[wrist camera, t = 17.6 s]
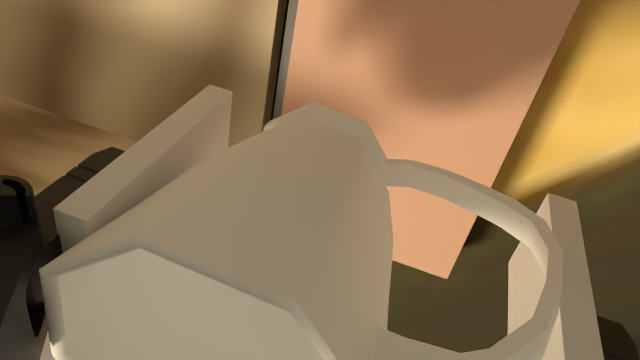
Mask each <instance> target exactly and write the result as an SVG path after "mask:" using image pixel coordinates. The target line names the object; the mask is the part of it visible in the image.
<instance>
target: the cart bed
mask: <svg viewBox="0 0 640 360" xmlns="http://www.w3.org/2000/svg"><path fill="white" fill-rule="evenodd" d="M286 4H287V0H0V175H10V176H16V177H20V178H22V179H24V180H26V181H28V182H29V184H30V185H31V186H32V188H33V192H34V196H36V195H37V194H39V193H40V192H41V191H43V190H44V189H45V188H47V187H48V186H49V185H51V184H52V183H53V182H55V181H56V180H58V179H59V178H60V177H62V176H63V175H64V176H65V175H66V173H67V172H68V171H70V170H71V169H72V168H74V167H77V166H78V164H79V163H81V162H82V161H83V160H85V159H86V158H87V157H89V156H90V155H92V154H93V153H96V152H99V151H101V150H104V149H107V148H110V147H115V148H118V149H121V150H123V151H126V150H128V149H129V148H130V147H131V146H133V145H134V144H135V143H137V142H138V141H139V140H140V139H142V138H143V137H144V136H145V135H147V134H148V133H149V132H150V131H152V130H153V129H154V128H155V127H157V126H158V125H159V124H161V123H162V122H163V121H164V120H166V119H167V118H168V117H169V116H171V115H172V114H173V113H174V112H176V111H177V110H178V109H179V108H181V107H182V106H183V105H184V104H186V103H187V102H188V101H190V100H191V99H192V98H193V97H195V96H196V95H197V94H198V93H200V92H201V91H202V90H203V89H205V88H206V87H207V86H208V85H213V86H216V87H219V88H222V89H226V90H229V91H232V92H233V94H232V106H231V118H230V130H229V142H228V148H230V147H232V146H234V145H236V144H238V143H240V142H242V141H244V140H246V139H248V138H250V137H253V136H255V135H257V134H259V133H262V132H263V129H264V126H265V125H266V124H267V123H268V122H269V121H270V120H271V113H272V105H273V98H274V91H275V84H276V76H277V69H278V62H279V55H280V47H281V40H282V33H283V26H284V18H285V11H286Z"/></svg>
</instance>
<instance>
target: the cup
mask: <svg viewBox="0 0 640 360" xmlns="http://www.w3.org/2000/svg"><path fill="white" fill-rule="evenodd" d="M387 186H391V187H410V188H413V189H416V190H419V191H422V192H425V193H429V194H432V195H435V196H438V197H441V198H444V199H446V200H448V201H450V202H452V203H454V204H456V205H458V206H460V207H462V208H464V209H466V210H469V211H471V212H473V213H475V214H477V215H478V216H480V217H482V218H484V219H486V220H488V221H490V222H492V223H494V224H496V225H498V226H499V227H501V228H502V229H504V230H505V231H507V232H508V233H510V234H511V235H512V236H514V237H515V238H517V239H518V240H520V241H521V242H523V243H524V244H525V245H527V246H528V247H530V249H531V251H532V253H533V255H534V256H535V258H536V260H537V262H538V264H539V266H540V267H541V269H542V271H543V273H544V275H545V277H546V279H545V285H544V288H543V290H542V293H541V296H540V299H539V301H538V304H537V307H536V309H535V312H534V315H533V317H532V318H531V319H530V320H528V321H527V322H526V323H524V324H523V325H521V326H520V327H519V328H517V329H516V330H514V331H513V332H512V333H510V334H509V335H507V336H506V337H505V338H503V339H502V340H501V341H499V342H498V343H496V344H495V345H494V346H492V347H491V348H489V349H484V350H477V351H471V352H465V353H458V352H454V351H451V350H447V349H443V348H440V347H436V346H433V345H429V344H426V343H422V342H419V341H415V340H412V339H408V338H405V337H403V336H400V335H398V334H395V333H393V332H390V331H387V319H388V303H389V290H390V278H391V266H392V253H393V241H394V239H393V229H392V219H391V209H390V199H389V191H388V189H387V188H386V187H387ZM39 273H40V280H41V286H42V293H43V299H44V306H45V313H46V319H47V326H48V331H49V338H50V345H51V352H52V355H53V357H54V358H55V359H56V360H541V359H543V356H544V353H545V351H546V348H547V345H548V342H549V339H550V336H551V333H552V330H553V327H554V325H555V322H556V319H557V316H558V313H559V305H560V298H561V291H562V275H563V249H562V248H561V246H560V244H559V243H558V241H557V239H556V238H555V236H554V234H553V233H552V231H551V229H550V228H549V226H548V224H547V223H546V221H545V220H544V219H543V218H541V217H540V216H538V215H537V214H535V213H534V212H532V211H531V210H529V209H528V208H527V207H525V206H524V205H522V204H521V203H519V202H518V201H516V200H515V199H513V198H511V197H509V196H507V195H505V194H503V193H500V192H498V191H496V190H494V189H492V188H489V187H487V186H485V185H483V184H480V183H478V182H476V181H473V180H471V179H468V178H466V177H464V176H461V175H459V174H456V173H454V172H452V171H449V170H446V169H443V168H439V167H435V166H432V165H428V164H425V163H421V162H417V161H414V160H404V159H387V157H386V155H385V153H384V151H383V150H382V148H381V146H380V144H379V142H378V140H377V139H376V137H375V135H374V133H373V131H372V129H371V128H370V126H369V124H368V122H366V121H363V120H361V119H358V118H355V117H353V116H350V115H347V114H345V113H342V112H339V111H337V110H334V109H331V108H329V107H326V106H323V105H321V104H318V103H315V102H311V103H309V104H307V105H304V106H302V107H300V108H298V109H296V110H293V111H291V112H289V113H287V114H285V115H282V116H280V117H278V118H276V119H273V120H271V121H269V122H268V123H267V124H266V125H265V126H264V129H263V132H262V133H259V134H257V135H255V136H253V137H250V138H248V139H246V140H244V141H242V142H240V143H238V144H236V145H234V146H232V147H230V148H228V149H226V150H224V151H222V152H219V153H217V154H215V155H213V156H211V157H209V158H207V159H205V160H203V161H201V162H199V163H198V164H196V165H195V166H193V167H192V168H190V169H189V170H187V171H186V172H184V173H183V174H182V175H180V176H179V177H177V178H176V179H174V180H173V181H171V182H170V183H168V184H167V185H165V186H164V187H162V188H161V189H160V190H158V191H157V192H155V193H154V194H152V195H151V196H149V197H148V198H146V199H145V200H143V201H142V202H141V203H139V204H138V205H136V206H135V207H133V208H131V209H130V210H128V211H127V212H125V213H124V214H122V215H121V216H119V217H117V218H116V219H114V220H113V221H111V222H110V223H108V224H106V225H105V226H103V227H102V228H100V229H99V230H97V231H96V232H94V233H92V234H91V235H89V236H88V237H86V238H85V239H84V240H82V241H81V242H79V243H78V244H76V245H75V246H73V247H72V248H70V249H69V250H67V251H66V252H64V253H63V254H61V255H60V256H58V257H57V258H55V259H54V260H52V261H51V262H49V263H48V264H46V265H45V266H43V267H42V268H40V269H39Z"/></svg>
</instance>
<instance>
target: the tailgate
mask: <svg viewBox="0 0 640 360" xmlns="http://www.w3.org/2000/svg"><path fill="white" fill-rule="evenodd" d="M579 3H580V0H289V5H288V13H287V20H286V27H285V34H284V41H283V48H282V55H281V62H280V69H279V77H278V84H277V91H276V98H275V105H274V112H273V119H276V118H278V117H280V116H282V115H285V114H287V113H289V112H291V111H293V110H296V109H298V108H300V107H302V106H304V105H307V104H309V103H311V102H315V103H318V104H321V105H323V106H326V107H329V108H331V109H334V110H337V111H339V112H342V113H345V114H347V115H350V116H353V117H355V118H358V119H361V120H363V121H366V122H368V124H369V126H370V128H371V129H372V131H373V133H374V135H375V137H376V139H377V140H378V142H379V144H380V146H381V148H382V150H383V151H384V153H385V155H386V157H387V159H404V160H414V161H417V162H421V163H425V164H428V165H432V166H435V167H439V168H443V169H446V170H449V171H452V172H454V173H456V174H459V175H461V176H464V177H466V178H468V179H471V180H473V181H476V182H478V183H480V184H483V185H485V186H487V187H489V188H491V186H492V184H493V182H494V180H495V178H496V176H497V174H498V171H499V169H500V167H501V165H502V163H503V161H504V159H505V157H506V155H507V153H508V151H509V149H510V146H511V144H512V142H513V140H514V138H515V136H516V134H517V132H518V130H519V128H520V126H521V124H522V121H523V119H524V117H525V115H526V113H527V111H528V109H529V107H530V105H531V103H532V101H533V98H534V96H535V94H536V92H537V90H538V88H539V86H540V84H541V82H542V80H543V78H544V76H545V73H546V71H547V69H548V67H549V65H550V63H551V61H552V59H553V57H554V55H555V53H556V51H557V48H558V46H559V44H560V42H561V40H562V38H563V36H564V34H565V32H566V30H567V28H568V25H569V23H570V21H571V19H572V17H573V15H574V13H575V11H576V9H577V7H578V5H579ZM273 119H272V120H273ZM386 188H387V189H388V191H389V199H390V209H391V219H392V229H393V239H394V241H393V253H392V260H394V261H397V262H400V263H402V264H405V265H408V266H411V267H414V268H417V269H419V270H422V271H425V272H428V273H431V274H434V275H437V276H439V277H442V278H445V279H447V278H448V276H449V274H450V272H451V270H452V267H453V265H454V263H455V261H456V259H457V257H458V255H459V253H460V251H461V249H462V247H463V244H464V242H465V240H466V238H467V236H468V234H469V232H470V230H471V228H472V226H473V224H474V222H475V219H476V217H477V214H475V213H473V212H471V211H469V210H466V209H464V208H462V207H460V206H458V205H456V204H454V203H452V202H450V201H448V200H446V199H444V198H441V197H438V196H435V195H432V194H429V193H425V192H422V191H419V190H416V189H413V188H410V187H391V186H387V187H386Z"/></svg>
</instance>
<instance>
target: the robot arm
mask: <svg viewBox="0 0 640 360" xmlns="http://www.w3.org/2000/svg"><path fill="white" fill-rule="evenodd" d="M232 94H233V92H232V91H229V90H226V89H222V88H219V87H216V86H213V85H208V86H207V87H206V88H205V89H203V90H202V91H201V92H200V93H198V94H197V95H196V96H195V97H193V98H192V99H191V100H190V101H188V102H187V103H186V104H184V105H183V106H182V107H181V108H179V109H178V110H177V111H176V112H174V113H173V114H172V115H171V116H169V117H168V118H167V119H166V120H164V121H163V122H162V123H161V124H159V125H158V126H157V127H155V128H154V129H153V130H152V131H150V132H149V133H148V134H147V135H145V136H144V137H143V138H142V139H140V140H139V141H138V142H137V143H135V144H134V145H133V146H131V147H130V148H129V149H128V150H126V151H123V150H121V149H118V148H115V147H110V148H107V149H104V150H101V151H99V152H96V153H93V154H92V155H90V156H89V157H87V158H86V159H85V160H83V161H82V162H81V163H79V164H78V166H77V167H74V168H72V169H71V170H70V171H68V172H67V173H66V175H65V176H64V175H63V176H62V177H60V178H59V179H58V180H56V181H55V182H53V183H52V184H51V185H49V186H48V187H47V188H45V189H44V190H43V191H41V192H40V193H39V194H37V195H36V196H34V192H33V188H32V186H31V185H30V184H29V182H28V181H26V180H24V179H22V178H20V177H16V176H10V175H0V360H39V359H40V356H41V352H42V349H43V345H44V342H45V338H46V335H47V331H48V326H47V319H46V313H45V306H44V299H43V293H42V286H41V280H40V273H39V269H40V268H42V267H43V266H45V265H46V264H48V263H49V262H51V261H52V260H54V259H55V258H57V257H58V256H60V255H61V254H63V253H64V252H66V251H67V250H69V249H70V248H72V247H73V246H75V245H76V244H78V243H79V242H81V241H82V240H84V239H85V238H86V237H88V236H89V235H91V234H92V233H94V232H96V231H97V230H99V229H100V228H102V227H103V226H105V225H106V224H108V223H110V222H111V221H113V220H114V219H116V218H117V217H119V216H121V215H122V214H124V213H125V212H127V211H128V210H130V209H131V208H133V207H135V206H136V205H138V204H139V203H141V202H142V201H143V200H145V199H146V198H148V197H149V196H151V195H152V194H154V193H155V192H157V191H158V190H160V189H161V188H162V187H164V186H165V185H167V184H168V183H170V182H171V181H173V180H174V179H176V178H177V177H179V176H180V175H182V174H183V173H184V172H186V171H187V170H189V169H190V168H192V167H193V166H195V165H196V164H198V163H199V162H201V161H203V160H205V159H207V158H209V157H211V156H213V155H215V154H217V153H219V152H222V151H224V150H226V149H228V142H229V130H230V118H231V106H232ZM536 214H537V215H538V216H540V217H541V218H543V219H544V220H545V221H546V223H547V224H548V226H549V228H550V229H551V231H552V233H553V234H554V236H555V238H556V239H557V241H558V243H559V244H560V246H561V248H562V249H563V275H562V291H561V298H560V305H559V313H558V316H557V319H556V322H555V325H554V327H553V330H552V333H551V336H550V339H549V342H548V345H547V348H546V351H545V353H544V356H543V359H541V360H639V357H638V353H637V349H636V345H635V343H634V342H633V340H632V339H631V337H630V336H629V334H628V333H627V331H626V330H625V328H624V326H623V325H622V324H620V323H617V322H614V321H612V320H609V319H606V318H603V317H600V316H597V315H596V311H595V305H594V299H593V294H592V288H591V282H590V277H589V271H588V265H587V260H586V254H585V248H584V243H583V237H582V231H581V226H580V220H579V214H578V209H577V203H576V202H575V201H572V200H569V199H566V198H562V197H559V196H556V195H553V194H550V193H548V194H547V196H546V198H545V199H544V201H543V203H542V205H541V206H540V208H539V210H538V212H537V213H536ZM545 279H546V277H545V275H544V273H543V271H542V269H541V267H540V266H539V264H538V262H537V260H536V258H535V256H534V255H533V253H532V251H531V249H530V247H528V246H527V245H525V244H524V243H523V242H520V243H519V245H518V247H517V249H516V250H515V252H514V254H513V256H512V257H511V259H510V261H509V280H508V335H509V334H510V333H512V332H513V331H514V330H516V329H517V328H519V327H520V326H521V325H523V324H524V323H526V322H527V321H528V320H530V319H531V318H532V317H533V315H534V312H535V309H536V307H537V304H538V301H539V299H540V296H541V293H542V290H543V288H544V285H545Z"/></svg>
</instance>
